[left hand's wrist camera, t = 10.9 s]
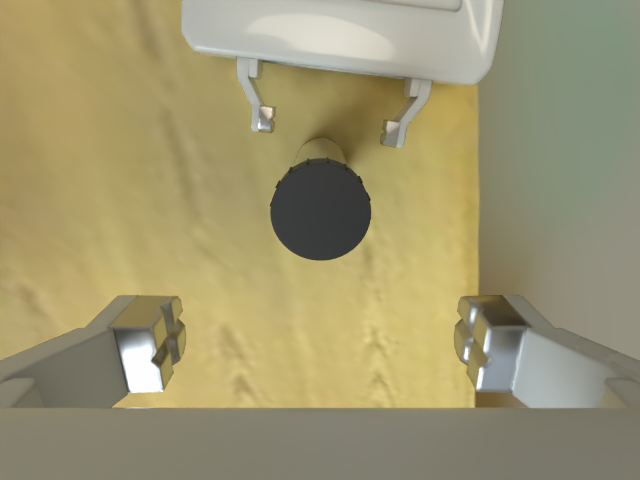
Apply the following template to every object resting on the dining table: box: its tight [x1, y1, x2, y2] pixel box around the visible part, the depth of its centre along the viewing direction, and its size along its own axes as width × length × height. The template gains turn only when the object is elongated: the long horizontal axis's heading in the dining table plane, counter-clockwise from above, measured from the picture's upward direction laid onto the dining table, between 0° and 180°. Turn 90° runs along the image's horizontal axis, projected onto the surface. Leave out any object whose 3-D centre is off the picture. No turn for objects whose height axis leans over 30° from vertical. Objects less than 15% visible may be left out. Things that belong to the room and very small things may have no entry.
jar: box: [293, 138, 348, 167], centre depth 26 cm, size 4×4×15 cm
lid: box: [270, 157, 371, 260], centre depth 20 cm, size 5×5×2 cm
